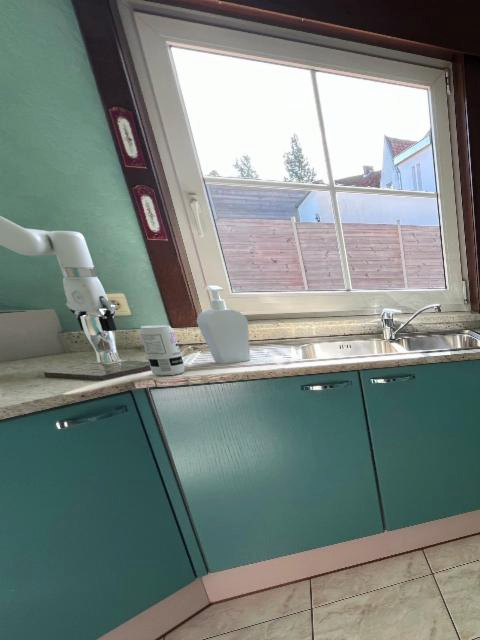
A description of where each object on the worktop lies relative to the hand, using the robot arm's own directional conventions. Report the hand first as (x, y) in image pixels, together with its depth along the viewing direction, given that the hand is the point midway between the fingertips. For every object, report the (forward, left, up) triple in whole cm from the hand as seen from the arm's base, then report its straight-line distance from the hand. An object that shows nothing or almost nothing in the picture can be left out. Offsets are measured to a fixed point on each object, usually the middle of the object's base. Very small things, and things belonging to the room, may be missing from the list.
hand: (99, 329), depth 160 cm
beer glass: (0, 0, -11) cm, 11 cm away
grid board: (+7, -7, -12) cm, 15 cm away
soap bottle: (+29, +17, -12) cm, 36 cm away
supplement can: (+27, -5, -12) cm, 30 cm away
